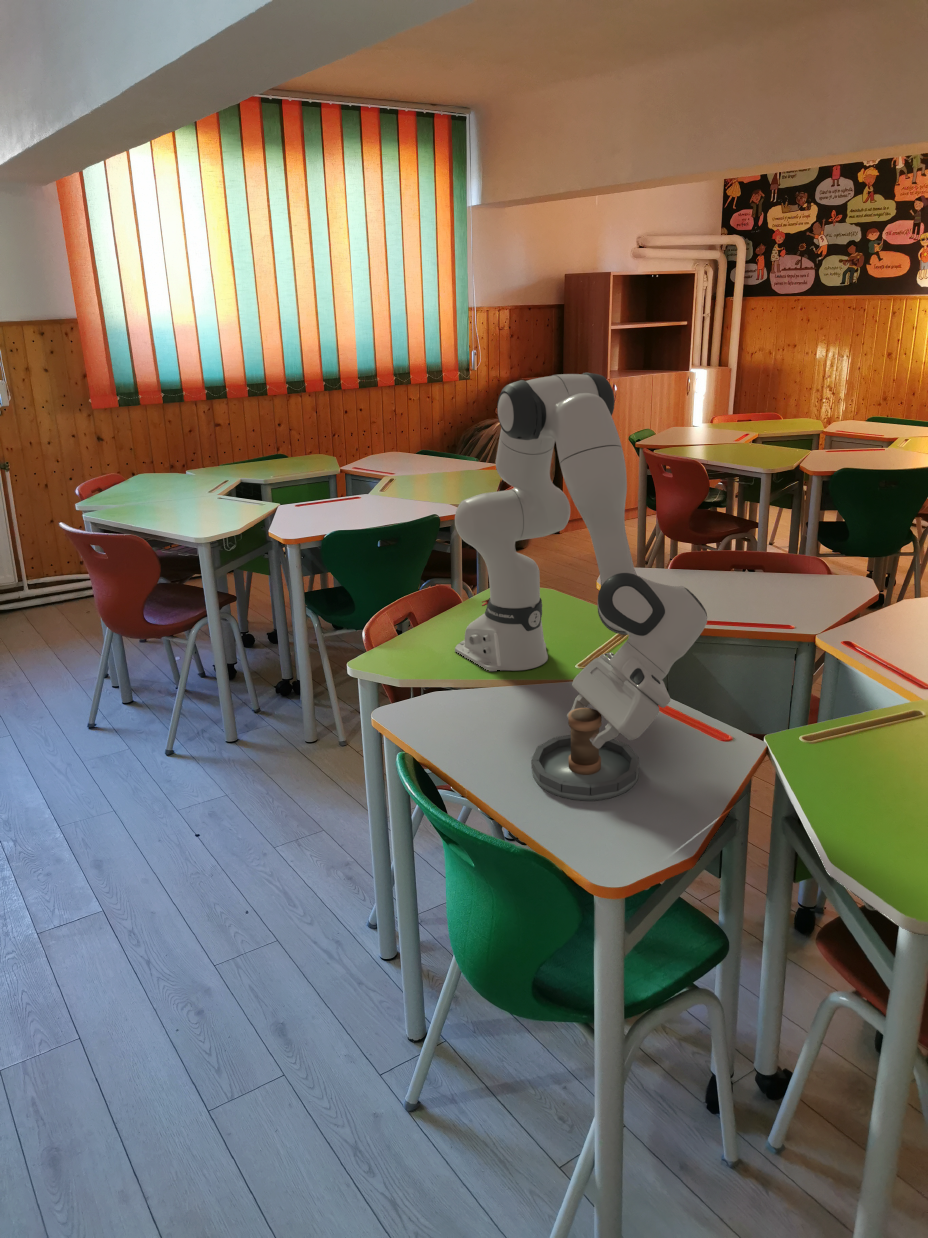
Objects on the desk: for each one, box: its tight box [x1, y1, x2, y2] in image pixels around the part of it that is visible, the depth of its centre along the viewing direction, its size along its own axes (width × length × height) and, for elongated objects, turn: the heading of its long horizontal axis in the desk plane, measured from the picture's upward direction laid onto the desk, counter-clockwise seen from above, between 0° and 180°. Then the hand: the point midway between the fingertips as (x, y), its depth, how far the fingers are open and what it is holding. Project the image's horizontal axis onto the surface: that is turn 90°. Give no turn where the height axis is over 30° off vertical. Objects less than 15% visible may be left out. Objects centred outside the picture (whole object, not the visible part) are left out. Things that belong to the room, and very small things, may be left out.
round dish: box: [531, 734, 640, 802], centre depth 154 cm, size 18×18×2 cm
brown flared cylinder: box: [567, 707, 603, 775], centre depth 153 cm, size 6×6×10 cm
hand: (581, 732), depth 152 cm, fingers open, 8 cm apart
